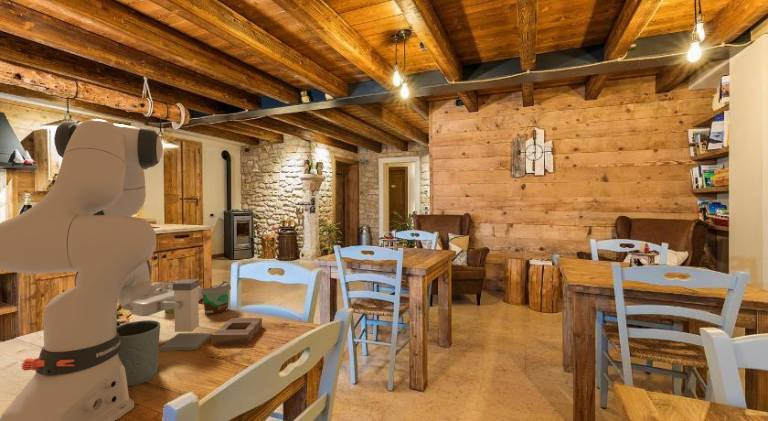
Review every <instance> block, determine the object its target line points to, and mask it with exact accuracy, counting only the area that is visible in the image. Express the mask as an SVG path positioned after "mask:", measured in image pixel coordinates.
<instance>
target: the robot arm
mask: <svg viewBox="0 0 768 421" xmlns="http://www.w3.org/2000/svg"><path fill="white" fill-rule="evenodd" d="M53 140H54V141H53V142H54V147H55V150H56V152H57V154H58V156H59V157H61V158H62V159H61V163H60V166H59V170H58V172H57V175H56V178H55V180H54V182H53V184H52V187H51V188H50V190H49V191H48V192H47V193H46V194H45V195H44V196H43V197H42V198H41V199H40V200H39V201H38V202H37V203H35V204H34V205H32V207H30V208H28V209H27V210H25V211H24V212H21V213H20V214H18V215H16V216H14V217H12V218H9V219H7V220H4V221H2V222H0V271H2V272H7V273H8V272H9V273H18V274H31V275H32V274H33V275H43V274H57V273H60V274H61V273H72V272H73V273H75V277H74V287H72V288H69V289H67V290H65V291H63V292H62V293H59V294H58V295H56V296H54V297H53V298H51V300H49V301H48V302H47V304H46V306H45V307H44V308H43V312H42V323H43V324H42V326H43V347H42V348H41V350H40V353H39V356H38V358H37V357H36V358H32V357H30V358H29V357H28V358H25V359H24V360H23V361H22V364H21V365H20V367H21V370H23V371H25V372H26V371H34V372H35V373H34V375H33V376H32V378H30V380H29V381H28V382H27V383H26V385H25V386H24V387H23V388H22V389H21V391H20V392H19V393H18V394H17V396H16V397H15V398H14V399H13V401H11V403H10V404H9V405H8V407H6V408H5V410H4V411H3V413H2V414H1V416H0V421H115V420H116V421H117V420H119V419H120V418H122V417H123V416H125V414H127V413H129V412H130V411H132V410H133V409H134V408H135V402H134V400H133V399H132V398H130V395H129V394H130V393H129V390H128V389H129V386H127V379H126V373H125V368H124V366H123V364H122V362H121V361H120V358H119V355H118V352H119V351H120V339H119V333H118V332H117V326H118V325H117V321H118V320H117V318H118V317H117V314H118V308H117V303H118V299H119V302H120V304H121V306H122V309H121V310H123V311H129V313H130V312H131V313H130V314H131V315H134V316H137V317H149V316H151V315H154V314H156V313H157V314H158V313H159V312H160V313H161V312H163V311H165V310H166V309H178V308H180V307H181V302H180V301H174V290H173V283H175V282H177V281H178V280H173V281H165V282H151V278H152V266H151V261H150V258H151V257H152V256H153V254H154V252H155V251H156V247H157V235H156V231H155V229H154V228H153V225H151V223H150V222H149V221H148V220H146V218H142V217H136V216H134V215H135V214H137V213H138V212H140V210H141V208H142V207H143V206H144V204H145V201H146V196H147V194H146V193H147V192H146V190H147V189H146V179H145V178H146V176H145V172H144V170H148V169H150V168H153V167H155V166H156V165H158V164H159V163H160V160H161V158H162V156H163V151H164V149H163V143H162V140H161V138H160V135H159V134H158V133H157V132H156V131H155V130H153V129H151V128H147V127H144V126H141V127H137V126H133V125H132V126H131V125H126V124H121V123H120V124H119V123H113V122H110V121H108V120H104V119H98V118H97V119H95V118H93V119H87V120H85V121H81V120H69V121H68V120H67V121H63V122H62V123H61V124H59V125H58V126H57V127H56V130H55V133H54V136H53ZM201 297H202V287H201V286H200V285H199V286H198V302H200V301H201Z"/></svg>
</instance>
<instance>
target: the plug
mask: <svg viewBox="0 0 768 421" xmlns="http://www.w3.org/2000/svg"><path fill="white" fill-rule="evenodd" d="M176 281H177V282H175V283H173V290H174V301H180V302H181V307H180V308H178V309H174V312H173V314H174V332H175V333H180V332H181V333H187V332H188V333H193V331H194V330H195V329H197V328H198V327H199V326H200V324H199V323H200V318H199V317H200V316H199V314H200V312H199V311H200V310H199V309H200V308H199V305H200V304H199V301H198V286H200V279H199V278H193V279H191V278H190V279H189V278H187V279H186V278H184V279H182V278H181V279H180V280H179V279H178V280H176Z"/></svg>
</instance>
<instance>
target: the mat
mask: <svg viewBox="0 0 768 421" xmlns="http://www.w3.org/2000/svg"><path fill="white" fill-rule="evenodd" d="M212 335H213V332H188V333H187V332H181V333H180V332H178V333H177V334H176V335H174V336H173V337H172V338H170V339H169V340H168V341H166V342H164V344H162V345H161V346H159V351H160V352H161V351H164V352H165V351H197V350H199V348H201V347H202V346H203V345H204V344H206V342H207V341H209V340H210V339H212Z"/></svg>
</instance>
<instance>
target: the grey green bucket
mask: <svg viewBox="0 0 768 421" xmlns="http://www.w3.org/2000/svg"><path fill="white" fill-rule="evenodd" d="M117 332H118V333H119V339H120V351H119V352H118V355H119V358H120V361H121V362H122V364H123V366H124V368H125V373H126V379H127V387H132V386H136V385H140V384H143V383H146V382H148V381H151V380H152V379H154V378H155V377H156V376H157V374H158V371H159V358H158V357H159V344H160V333H161V322H159V321H158V320H152V319H151V320H147V319H146V320H136V321H130V322H126V323H122V324H120V325H117Z"/></svg>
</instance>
